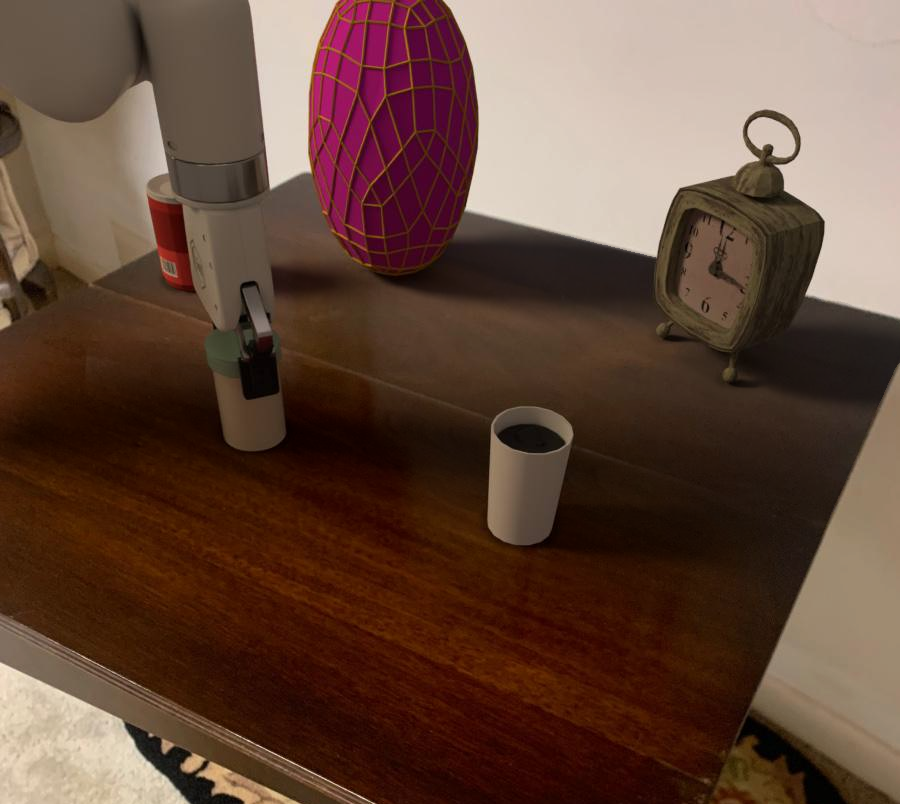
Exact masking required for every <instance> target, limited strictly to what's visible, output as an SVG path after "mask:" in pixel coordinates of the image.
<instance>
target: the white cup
mask: <svg viewBox="0 0 900 804" xmlns="http://www.w3.org/2000/svg"><path fill="white" fill-rule="evenodd" d="M573 440H574V431H573V426H572V424H571V423H570V422H569V421H568V420H567V419H566V418H565V417H564V416H563V415H561V414H559V413H557V412H556V411H553V410H551V409H547V408H544V407H539V406H529V405H528V406H525V405H524V406H523V405H521V406H516V407H511V408H507V409H505V410H504V411H502V412H500V413H498V414H497V415H496V416H495V417H494V419H493V421H492V422H491V425H490V450H489V453H490V454H489V473H488V474H489V475H488V497H487V498H488V499H487V519H486V520H487V528H488V529H489V531H490V532H491V533H492V535H493V536H494V537H496V538H497V539H500V541H502V542H504V543H507V544H511V545H514V546H531V545H534V544H539V543H541V542H543V541H544V540H546V538H548V537H549V536H550V534H551V532H552V529H553V525H554V521H555V516H556V513H557V509H558V505H559V499H560V496H561V491H562V487H563V483H564V480H565V479H564V478H565V475H566V469H567V465H568V461H569V457H570V452H571V448H572V444H573Z"/></svg>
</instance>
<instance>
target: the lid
mask: <svg viewBox="0 0 900 804" xmlns="http://www.w3.org/2000/svg"><path fill="white" fill-rule="evenodd" d="M271 330H272V334H273V342H274V343H273V344H274V348H275V353H276V362H277V366H278V365H279V366H280V363H281V362H282V359H283V357H282V356H283V354H282V344H281V337H280V335H279V334H278V332H277V331H276V330H275V329H273V328H272V327H271ZM243 332H244V336H245V340H246V344H247V345H248V343H249V340H253V331H252V329H249V330H244V331H243ZM203 341H204V342H203V346H204V352H205V357H206V363H207V366H208V367H209V368H210V370H211V371H212V370H213V371H215V372H216V373H218V374H221V375H224V376H227V377H234V378H240V372H239V366H238V359H237V358H239V357H241V355H240V351H239V347H238V343H237V339H236V335H235V332H234V330H229V331H228V332H227V333H224V332H222V331H220V330H219V329H218V328H217V329H215V330H214V329H213V330H212V331H210V332H209V333H208V334H207V335H206V337H205V339H204V340H203Z"/></svg>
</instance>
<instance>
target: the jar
mask: <svg viewBox="0 0 900 804" xmlns="http://www.w3.org/2000/svg"><path fill="white" fill-rule="evenodd" d="M280 368H281V367H280V364H279V365H278V366H277V370H278V379H279V387H280V391H279V393H278V394H275V395H270V396H266V397H261V398H257V399H252V400H246V399H245V398H244V396H243V392H242V386H241V379H240V378H234V377H227V376H224V375H221V374H218V373H216V372H215V371H213V370H212V369H211V371H212V377H213V382H214V389H215V393H216V394H215V395H216V401H217V406H218V412H219V418H220V423H221V431H222V436H223V439H224V441H225V442H226V443H227V444H228V445H229V446H230V447H232V448H233V449H236V450H239V451H243V452H260V451H265V450H269V449H272V448H274V447H276V446H278V445H279V444H280V443H282V441H283V440H284V439H285V438H286V435H287V423H286V415H285V406H284V397H283V388H282V378H281V369H280Z"/></svg>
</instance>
